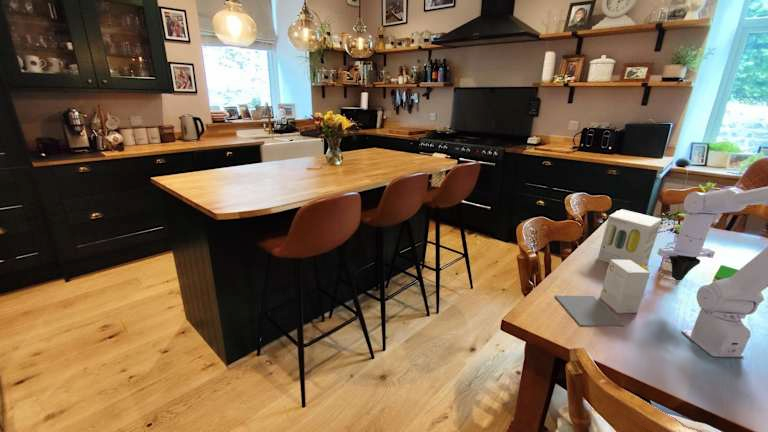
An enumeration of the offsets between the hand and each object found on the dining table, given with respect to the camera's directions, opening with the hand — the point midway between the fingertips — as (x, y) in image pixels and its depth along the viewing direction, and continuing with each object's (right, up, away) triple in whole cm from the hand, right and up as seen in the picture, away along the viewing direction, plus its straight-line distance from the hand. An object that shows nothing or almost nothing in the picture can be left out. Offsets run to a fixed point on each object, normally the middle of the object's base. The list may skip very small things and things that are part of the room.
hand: (676, 278), depth 103 cm
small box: (-15, -8, +3) cm, 18 cm away
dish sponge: (+34, -4, +20) cm, 40 cm away
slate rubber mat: (-26, -9, -1) cm, 28 cm away
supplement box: (+5, +1, +31) cm, 31 cm away
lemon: (-3, -5, +13) cm, 14 cm away
